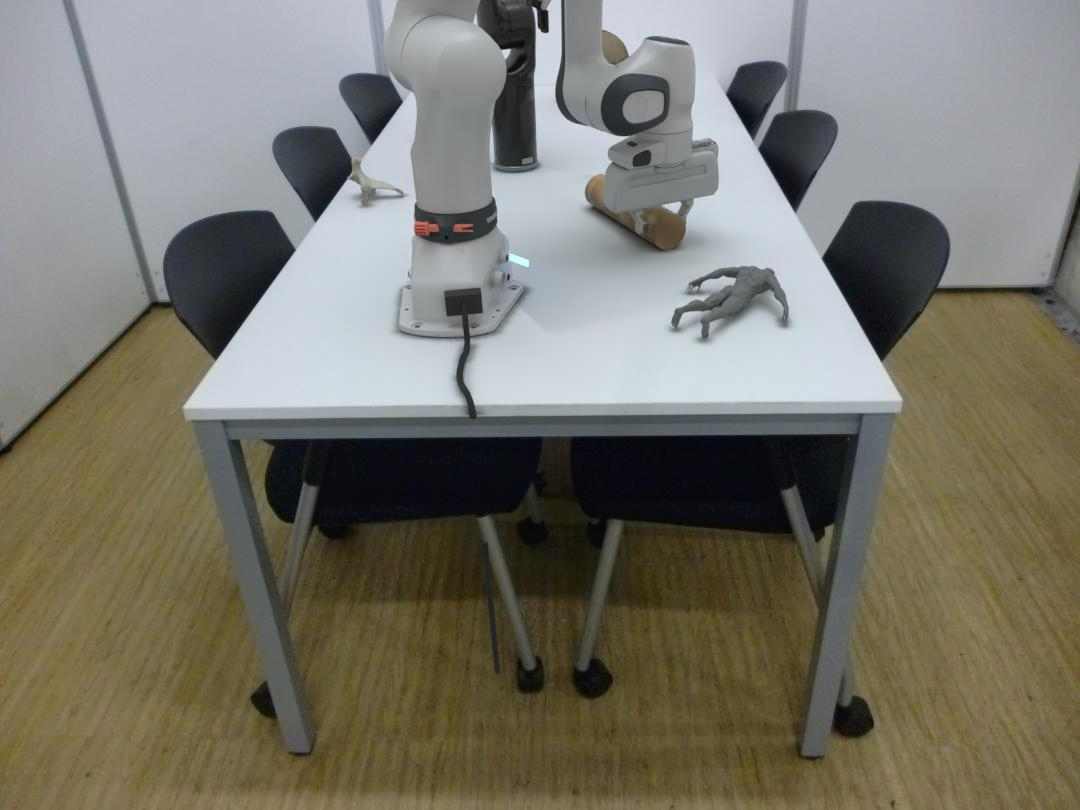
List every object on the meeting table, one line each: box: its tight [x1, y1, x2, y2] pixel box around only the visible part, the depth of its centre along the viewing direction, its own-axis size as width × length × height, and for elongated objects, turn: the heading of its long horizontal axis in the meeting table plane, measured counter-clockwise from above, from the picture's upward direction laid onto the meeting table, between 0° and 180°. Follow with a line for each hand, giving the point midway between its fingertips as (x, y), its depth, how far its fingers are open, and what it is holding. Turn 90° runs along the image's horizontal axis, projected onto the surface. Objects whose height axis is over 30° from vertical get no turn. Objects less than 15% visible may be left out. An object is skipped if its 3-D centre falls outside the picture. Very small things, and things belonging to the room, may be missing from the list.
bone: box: [346, 156, 405, 206], centre depth 167 cm, size 10×6×10 cm
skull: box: [602, 29, 630, 65], centre depth 226 cm, size 16×22×25 cm
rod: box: [584, 173, 687, 251], centre depth 148 cm, size 25×6×6 cm, turn 24°
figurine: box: [670, 265, 790, 340], centre depth 118 cm, size 17×4×20 cm
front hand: (660, 228), depth 140 cm, fingers closed on rod, 6 cm apart
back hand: (566, 30), depth 151 cm, fingers open, 8 cm apart
